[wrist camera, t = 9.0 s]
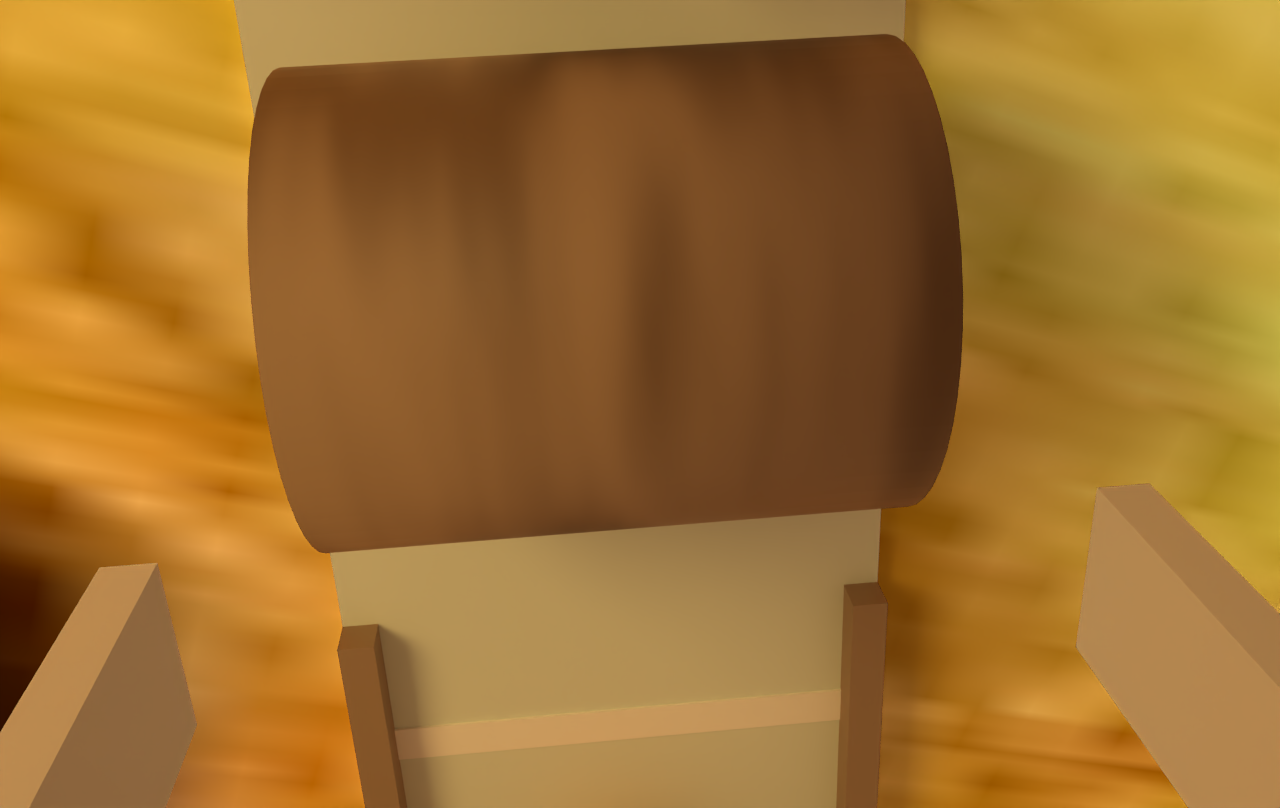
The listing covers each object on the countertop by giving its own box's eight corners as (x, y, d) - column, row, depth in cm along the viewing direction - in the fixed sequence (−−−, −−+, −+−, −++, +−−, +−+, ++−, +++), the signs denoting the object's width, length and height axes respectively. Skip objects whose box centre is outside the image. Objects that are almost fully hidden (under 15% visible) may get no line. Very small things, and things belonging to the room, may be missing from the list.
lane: (405, 970, 37) (389, 1120, 32) (171, -386, 22) (84, -447, 18) (857, 924, 37) (900, 1064, 33) (919, -410, 23) (1012, -474, 19)
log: (372, 426, 29) (311, 652, 20) (314, 36, 25) (210, 121, 17) (826, 392, 29) (942, 599, 21) (836, 7, 26) (982, 77, 17)
